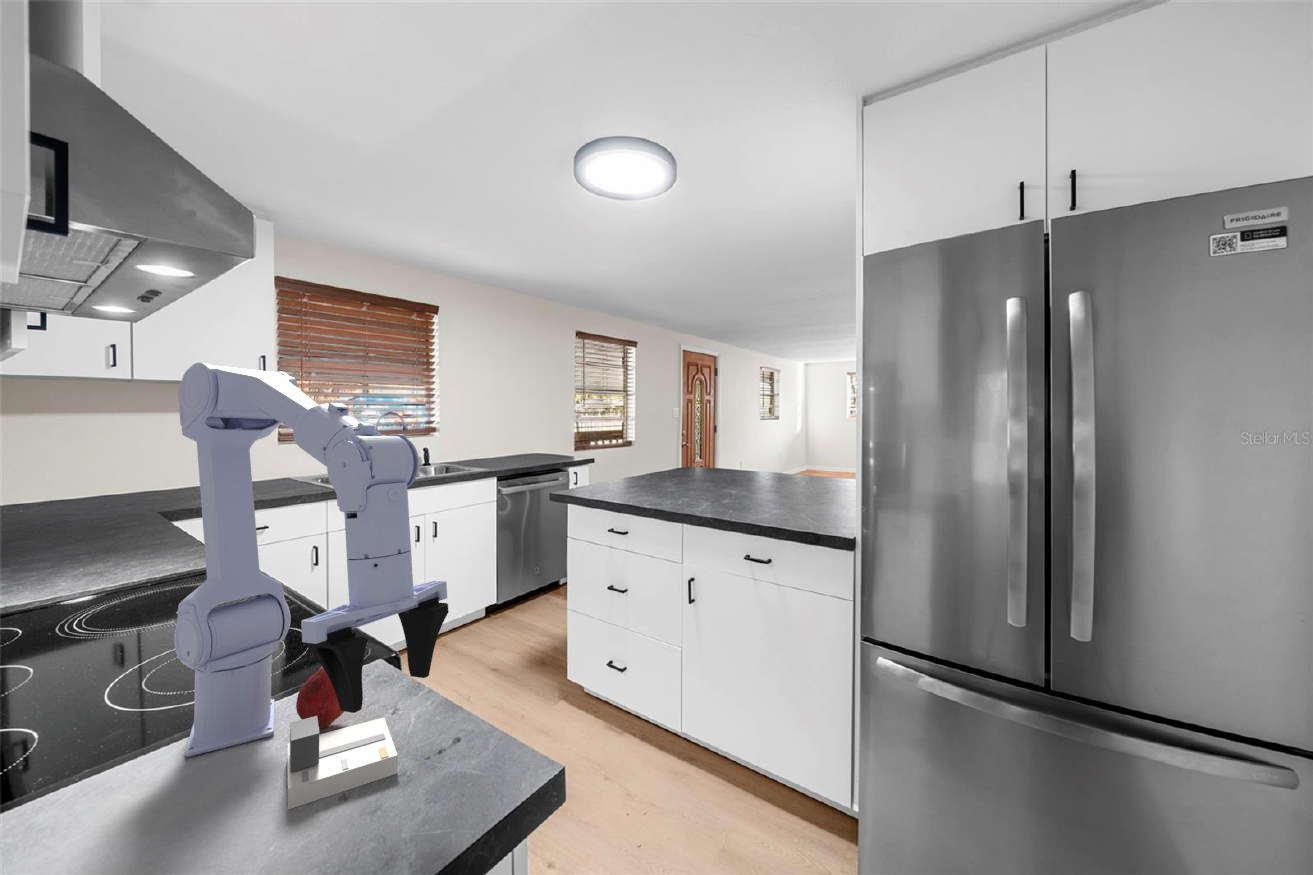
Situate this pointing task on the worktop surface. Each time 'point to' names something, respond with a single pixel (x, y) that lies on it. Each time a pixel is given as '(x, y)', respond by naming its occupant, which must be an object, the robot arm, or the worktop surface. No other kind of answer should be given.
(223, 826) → the worktop surface
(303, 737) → the fader knob
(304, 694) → the onion
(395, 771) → the console
